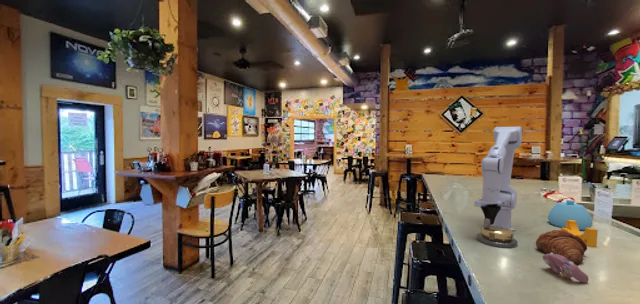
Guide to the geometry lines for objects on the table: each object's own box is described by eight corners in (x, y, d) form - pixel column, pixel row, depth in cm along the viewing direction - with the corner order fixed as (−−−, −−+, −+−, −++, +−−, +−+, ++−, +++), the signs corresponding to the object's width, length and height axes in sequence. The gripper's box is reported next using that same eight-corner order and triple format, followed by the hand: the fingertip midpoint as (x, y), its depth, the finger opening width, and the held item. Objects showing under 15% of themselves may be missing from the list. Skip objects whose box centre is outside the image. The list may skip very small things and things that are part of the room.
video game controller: (545, 272, 86) (536, 252, 86) (558, 265, 87) (549, 245, 86) (577, 290, 76) (568, 267, 76) (592, 282, 77) (582, 259, 76)
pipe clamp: (560, 235, 116) (561, 219, 115) (572, 236, 115) (573, 220, 115) (582, 246, 104) (584, 229, 103) (596, 247, 103) (597, 229, 103)
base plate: (468, 236, 112) (468, 233, 112) (495, 234, 116) (495, 230, 115) (497, 249, 100) (497, 245, 99) (526, 246, 103) (526, 242, 103)
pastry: (518, 247, 103) (519, 225, 102) (544, 241, 109) (545, 220, 108) (575, 267, 87) (577, 241, 87) (602, 259, 93) (603, 234, 93)
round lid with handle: (503, 233, 112) (504, 215, 112) (518, 242, 102) (519, 223, 102) (476, 232, 113) (477, 214, 112) (489, 241, 103) (490, 222, 103)
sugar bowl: (587, 224, 131) (588, 199, 130) (596, 233, 118) (598, 206, 117) (545, 219, 139) (546, 195, 138) (549, 227, 126) (551, 201, 125)
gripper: (486, 191, 104) (485, 228, 104) (514, 189, 109) (513, 225, 109) (470, 188, 110) (468, 223, 111) (497, 186, 115) (495, 219, 116)
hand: (489, 223), depth 111 cm, fingers closed
